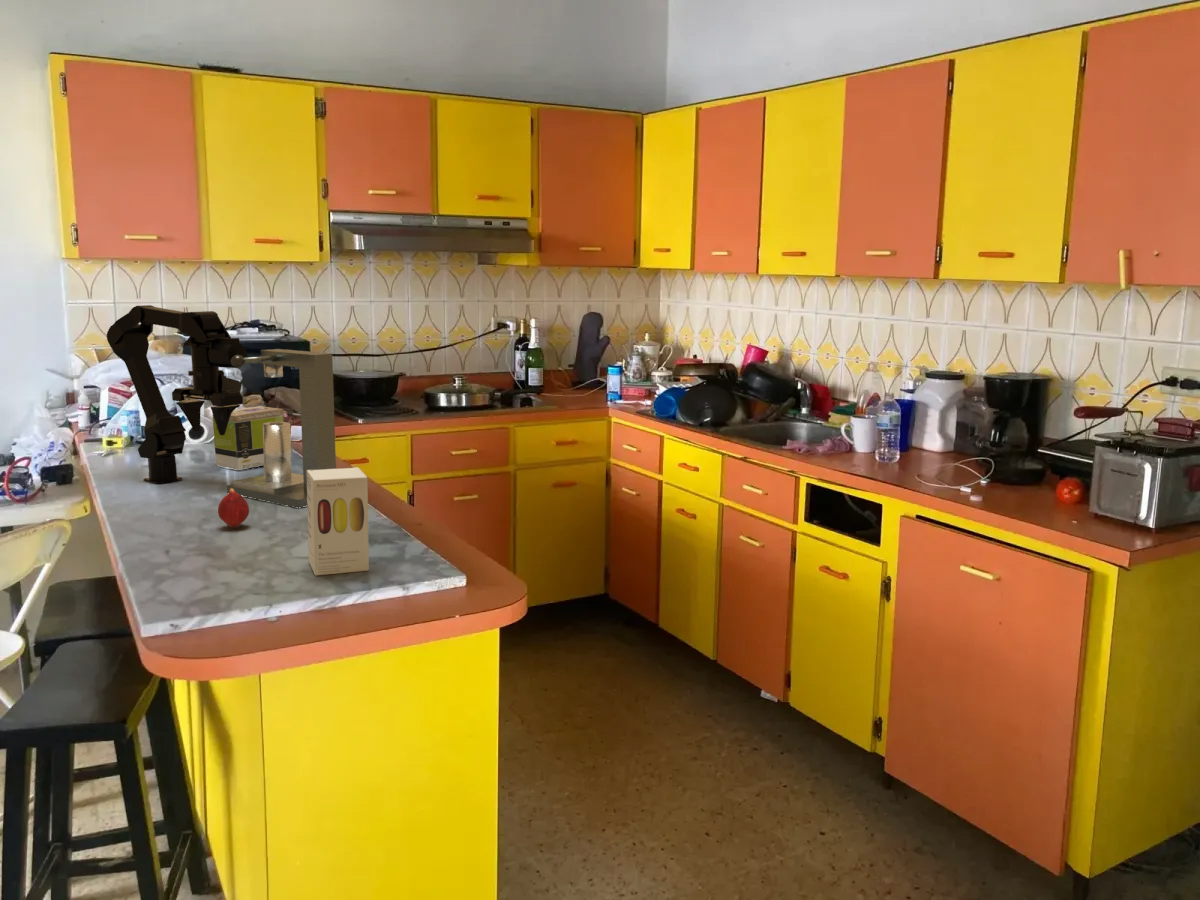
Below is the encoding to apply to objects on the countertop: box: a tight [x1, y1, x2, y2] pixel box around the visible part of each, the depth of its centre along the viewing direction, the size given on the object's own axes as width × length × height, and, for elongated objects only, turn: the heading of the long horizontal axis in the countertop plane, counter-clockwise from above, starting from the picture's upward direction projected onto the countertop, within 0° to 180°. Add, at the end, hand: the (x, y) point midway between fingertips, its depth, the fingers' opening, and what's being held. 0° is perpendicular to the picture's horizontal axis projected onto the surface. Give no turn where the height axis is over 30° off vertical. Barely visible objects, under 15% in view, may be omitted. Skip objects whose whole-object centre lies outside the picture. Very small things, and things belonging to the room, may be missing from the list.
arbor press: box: [226, 348, 337, 508], centre depth 220 cm, size 24×22×33 cm
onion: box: [217, 489, 250, 529], centre depth 196 cm, size 6×6×8 cm
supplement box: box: [306, 466, 370, 576], centre depth 171 cm, size 10×9×17 cm
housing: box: [263, 421, 292, 482], centre depth 226 cm, size 6×6×13 cm
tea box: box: [212, 405, 285, 470], centre depth 257 cm, size 15×10×15 cm
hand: (209, 433), depth 228 cm, fingers open, 9 cm apart
